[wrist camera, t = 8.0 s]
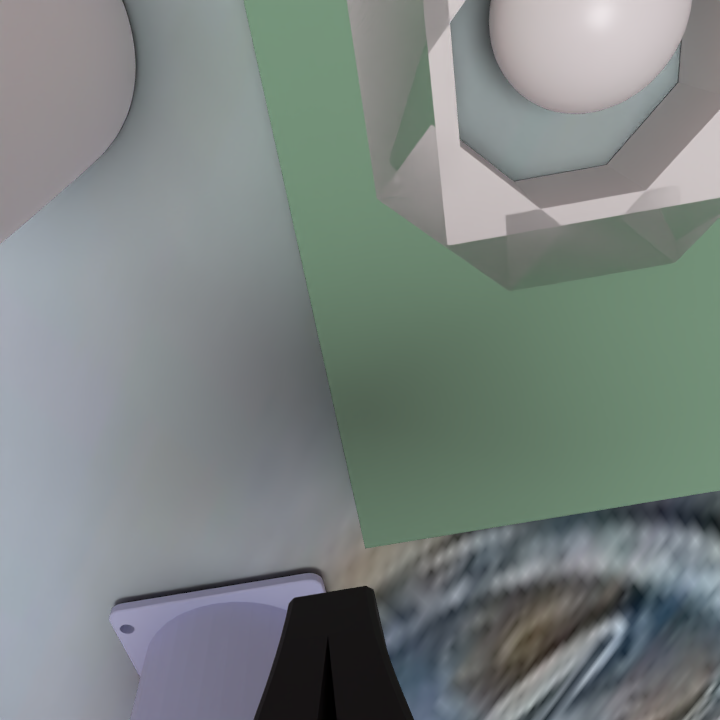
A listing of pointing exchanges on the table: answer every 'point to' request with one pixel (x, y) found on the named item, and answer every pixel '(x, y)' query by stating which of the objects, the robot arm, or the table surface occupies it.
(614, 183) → the putting mat
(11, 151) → the can
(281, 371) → the table surface
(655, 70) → the ball
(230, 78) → the table surface
